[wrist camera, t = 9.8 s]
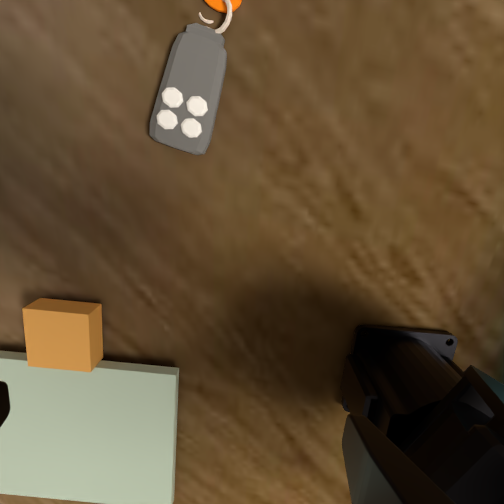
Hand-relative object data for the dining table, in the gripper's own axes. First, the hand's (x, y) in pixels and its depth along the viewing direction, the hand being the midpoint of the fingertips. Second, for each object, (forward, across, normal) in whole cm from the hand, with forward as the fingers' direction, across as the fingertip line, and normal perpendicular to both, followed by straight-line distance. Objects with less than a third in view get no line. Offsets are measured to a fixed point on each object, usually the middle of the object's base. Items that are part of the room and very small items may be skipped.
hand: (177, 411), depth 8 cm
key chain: (+13, +2, -13) cm, 19 cm away
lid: (+12, +10, +11) cm, 19 cm away
